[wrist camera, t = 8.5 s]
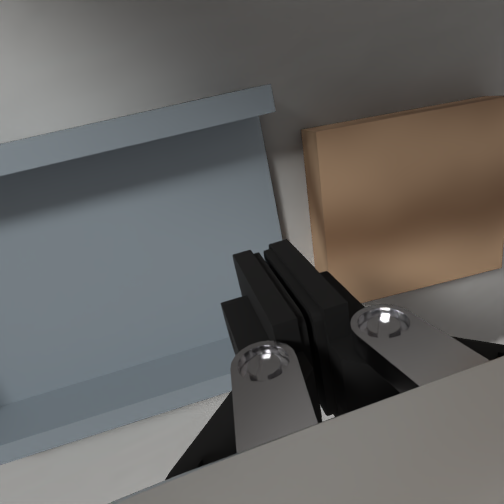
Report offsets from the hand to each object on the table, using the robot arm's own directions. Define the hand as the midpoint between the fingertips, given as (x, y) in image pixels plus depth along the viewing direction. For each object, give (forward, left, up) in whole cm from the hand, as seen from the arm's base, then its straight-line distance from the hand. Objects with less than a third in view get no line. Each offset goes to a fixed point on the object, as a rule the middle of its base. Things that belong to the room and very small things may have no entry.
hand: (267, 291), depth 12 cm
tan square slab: (+2, +9, -9) cm, 13 cm away
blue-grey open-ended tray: (+1, -7, -9) cm, 11 cm away
